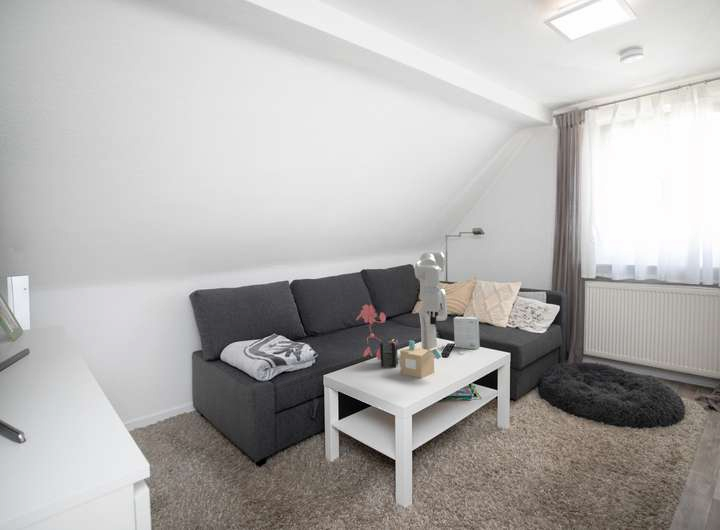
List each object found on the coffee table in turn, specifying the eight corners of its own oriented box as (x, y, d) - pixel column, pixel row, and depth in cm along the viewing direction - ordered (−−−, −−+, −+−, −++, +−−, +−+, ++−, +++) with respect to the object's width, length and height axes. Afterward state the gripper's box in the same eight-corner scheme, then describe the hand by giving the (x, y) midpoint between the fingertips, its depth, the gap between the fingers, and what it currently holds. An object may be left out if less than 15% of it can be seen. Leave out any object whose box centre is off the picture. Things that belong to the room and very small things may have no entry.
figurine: (363, 353, 272) (360, 301, 270) (393, 360, 254) (390, 304, 252) (346, 359, 261) (343, 304, 259) (377, 366, 243) (373, 308, 241)
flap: (441, 345, 223) (447, 353, 221) (434, 351, 226) (440, 359, 224) (429, 349, 215) (435, 358, 213) (422, 355, 218) (428, 364, 216)
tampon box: (396, 367, 239) (395, 343, 238) (380, 367, 241) (379, 342, 240) (398, 362, 250) (397, 338, 249) (383, 362, 251) (382, 338, 251)
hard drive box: (479, 346, 278) (479, 317, 277) (477, 349, 271) (476, 319, 270) (457, 344, 285) (456, 316, 284) (453, 347, 279) (453, 318, 278)
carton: (412, 367, 238) (411, 337, 237) (434, 372, 228) (433, 341, 227) (399, 372, 229) (398, 342, 228) (421, 378, 219) (420, 346, 218)
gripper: (416, 289, 220) (417, 323, 222) (440, 291, 210) (441, 327, 211) (424, 288, 226) (425, 321, 227) (448, 289, 215) (449, 324, 216)
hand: (433, 324), depth 219 cm, fingers closed
